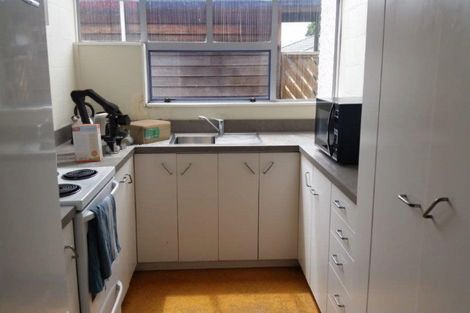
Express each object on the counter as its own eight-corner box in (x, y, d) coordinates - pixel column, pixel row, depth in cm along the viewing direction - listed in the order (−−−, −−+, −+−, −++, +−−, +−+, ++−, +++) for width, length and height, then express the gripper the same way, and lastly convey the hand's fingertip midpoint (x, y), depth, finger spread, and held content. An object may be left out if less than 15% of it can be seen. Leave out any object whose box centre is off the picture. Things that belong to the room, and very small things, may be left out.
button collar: (111, 150, 269) (111, 145, 268) (116, 148, 276) (116, 143, 275) (122, 150, 268) (121, 145, 267) (126, 148, 274) (126, 143, 274)
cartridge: (98, 153, 258) (98, 146, 257) (102, 151, 262) (101, 144, 261) (117, 153, 256) (116, 146, 255) (120, 151, 260) (119, 144, 259)
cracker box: (103, 159, 242) (99, 123, 237) (100, 161, 236) (96, 124, 231) (78, 160, 241) (75, 124, 237) (75, 162, 235) (71, 125, 231)
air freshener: (135, 143, 290) (134, 129, 288) (132, 145, 282) (131, 131, 280) (119, 144, 290) (118, 130, 288) (116, 146, 282) (115, 131, 280)
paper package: (144, 145, 285) (142, 125, 282) (120, 142, 301) (119, 122, 298) (173, 139, 305) (172, 120, 303) (149, 136, 321) (148, 118, 318)
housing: (95, 154, 256) (95, 145, 255) (102, 151, 264) (101, 143, 263) (105, 154, 255) (104, 145, 254) (110, 151, 263) (110, 143, 262)
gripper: (119, 127, 245) (121, 153, 248) (132, 123, 263) (134, 147, 266) (102, 127, 246) (104, 153, 250) (115, 123, 264) (117, 147, 268)
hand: (116, 150), depth 258 cm, fingers open, 8 cm apart
